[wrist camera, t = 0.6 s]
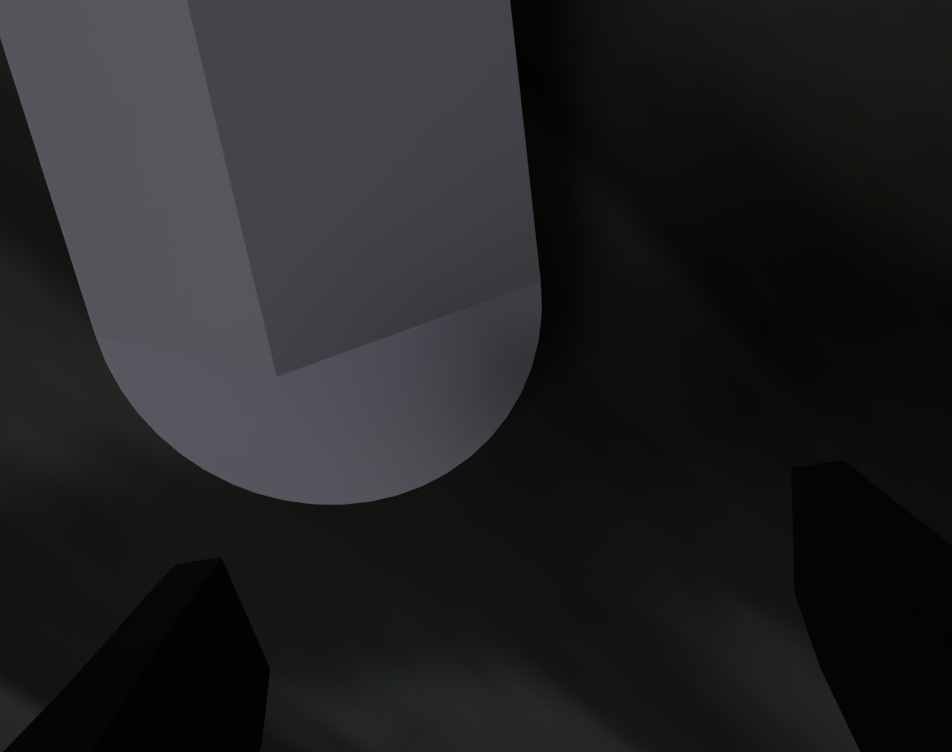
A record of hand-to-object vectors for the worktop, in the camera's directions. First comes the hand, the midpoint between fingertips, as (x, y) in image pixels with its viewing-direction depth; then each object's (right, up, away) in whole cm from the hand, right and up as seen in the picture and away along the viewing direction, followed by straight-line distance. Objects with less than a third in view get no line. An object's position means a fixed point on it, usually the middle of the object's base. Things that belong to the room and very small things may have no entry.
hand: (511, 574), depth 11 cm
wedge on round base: (-4, +7, +9) cm, 12 cm away
